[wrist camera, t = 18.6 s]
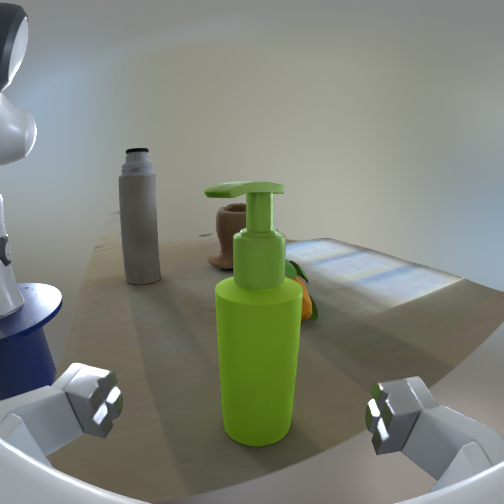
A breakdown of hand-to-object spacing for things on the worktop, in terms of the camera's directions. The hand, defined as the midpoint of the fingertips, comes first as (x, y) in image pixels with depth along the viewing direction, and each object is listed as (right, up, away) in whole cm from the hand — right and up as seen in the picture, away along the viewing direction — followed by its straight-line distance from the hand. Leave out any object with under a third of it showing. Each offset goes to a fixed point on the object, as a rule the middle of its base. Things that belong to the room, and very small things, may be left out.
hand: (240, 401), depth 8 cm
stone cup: (-2, +1, +65) cm, 65 cm away
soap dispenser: (0, -11, +14) cm, 18 cm away
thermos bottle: (-24, -2, +54) cm, 59 cm away
